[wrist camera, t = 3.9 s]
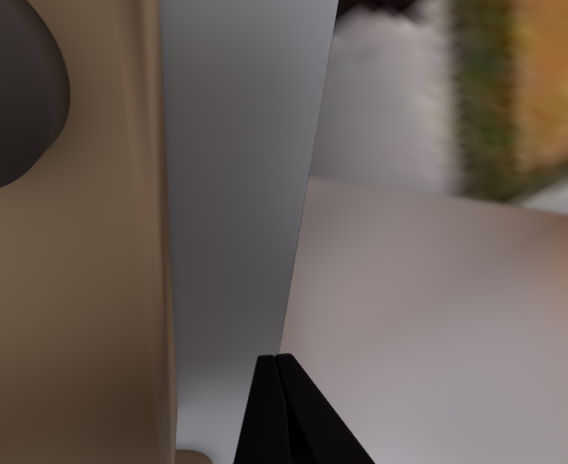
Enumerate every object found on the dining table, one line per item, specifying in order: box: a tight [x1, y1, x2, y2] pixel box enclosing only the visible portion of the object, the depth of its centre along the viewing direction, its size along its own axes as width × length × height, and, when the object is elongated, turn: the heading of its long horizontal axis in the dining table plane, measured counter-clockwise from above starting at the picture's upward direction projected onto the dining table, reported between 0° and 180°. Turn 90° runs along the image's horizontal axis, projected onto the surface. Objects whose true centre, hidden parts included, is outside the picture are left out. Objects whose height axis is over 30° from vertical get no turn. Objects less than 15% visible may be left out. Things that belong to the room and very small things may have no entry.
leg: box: [0, 0, 178, 464], centre depth 6 cm, size 11×2×4 cm, turn 173°
